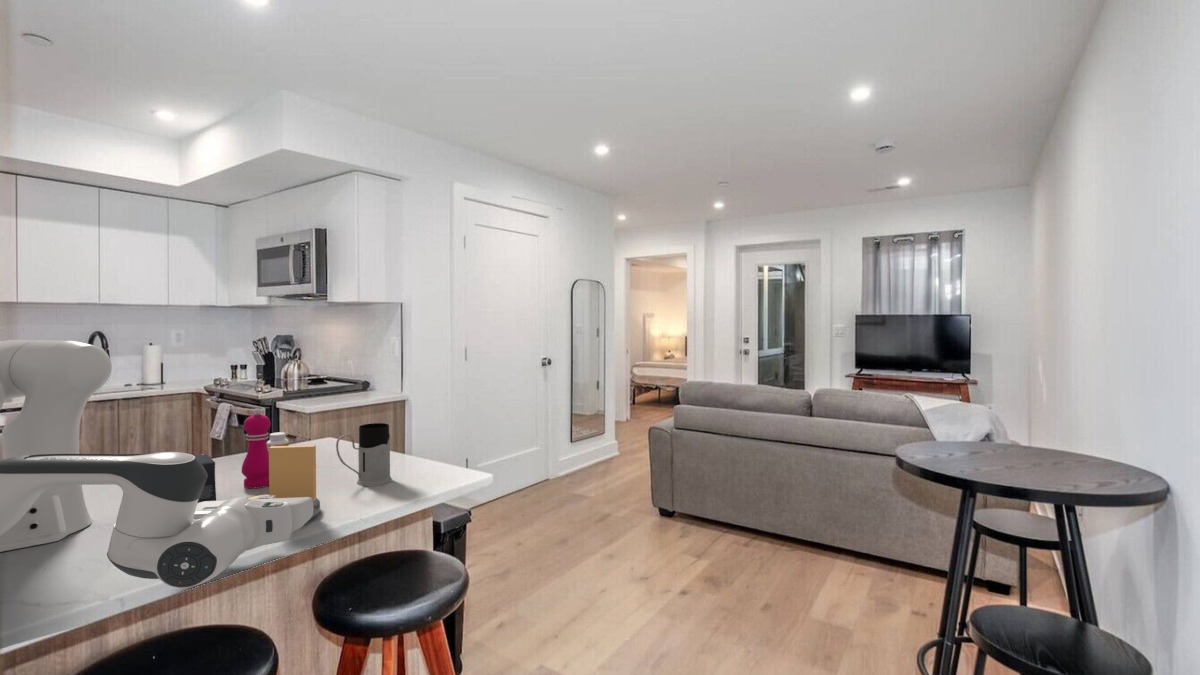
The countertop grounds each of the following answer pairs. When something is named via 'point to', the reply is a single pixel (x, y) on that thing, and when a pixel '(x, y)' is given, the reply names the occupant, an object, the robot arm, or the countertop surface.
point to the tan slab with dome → (292, 471)
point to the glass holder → (372, 454)
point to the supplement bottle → (277, 440)
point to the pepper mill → (256, 451)
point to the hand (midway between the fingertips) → (268, 499)
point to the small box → (208, 478)
